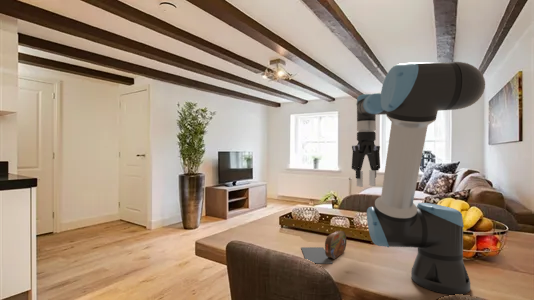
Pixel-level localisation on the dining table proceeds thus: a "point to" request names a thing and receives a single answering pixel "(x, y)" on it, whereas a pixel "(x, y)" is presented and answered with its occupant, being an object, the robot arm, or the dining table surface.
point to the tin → (335, 244)
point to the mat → (316, 255)
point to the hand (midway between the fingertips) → (366, 185)
